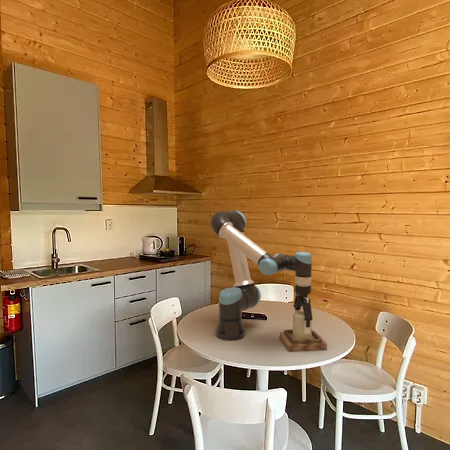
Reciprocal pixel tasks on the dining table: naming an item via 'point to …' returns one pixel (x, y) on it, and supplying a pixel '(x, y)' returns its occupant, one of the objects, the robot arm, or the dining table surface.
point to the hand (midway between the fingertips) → (302, 328)
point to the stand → (302, 342)
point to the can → (300, 327)
